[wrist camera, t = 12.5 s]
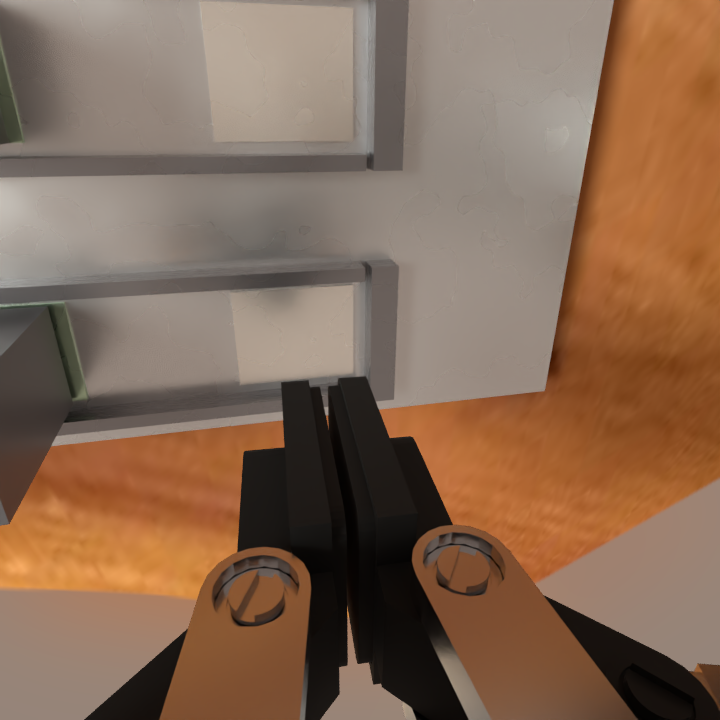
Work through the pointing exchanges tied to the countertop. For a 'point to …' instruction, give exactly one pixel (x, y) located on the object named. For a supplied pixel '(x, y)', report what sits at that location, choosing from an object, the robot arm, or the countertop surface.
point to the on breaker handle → (3, 131)
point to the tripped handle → (28, 400)
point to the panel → (291, 197)
